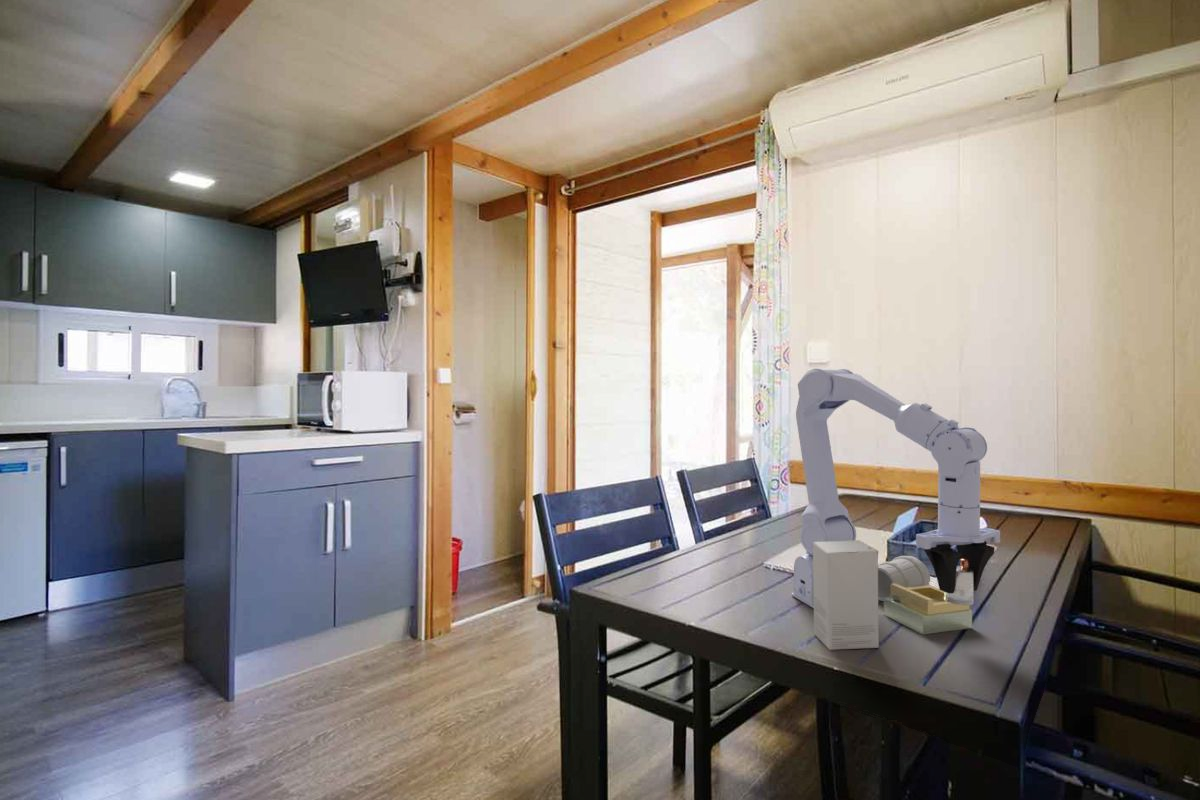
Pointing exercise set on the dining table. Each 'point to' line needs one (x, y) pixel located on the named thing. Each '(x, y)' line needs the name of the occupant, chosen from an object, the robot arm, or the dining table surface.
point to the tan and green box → (926, 610)
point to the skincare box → (846, 594)
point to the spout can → (962, 585)
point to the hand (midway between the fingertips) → (958, 590)
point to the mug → (901, 574)
